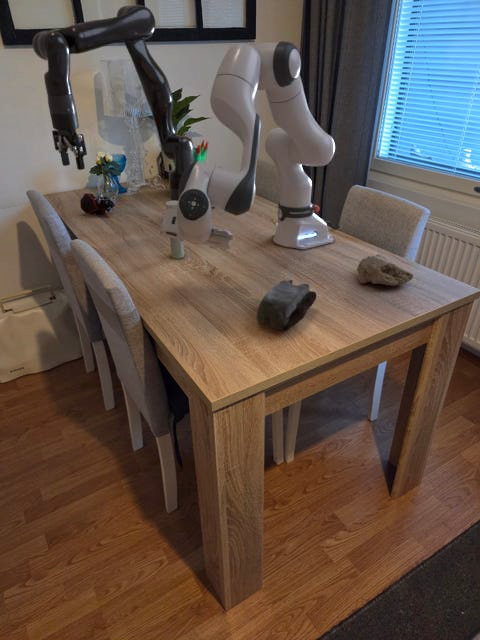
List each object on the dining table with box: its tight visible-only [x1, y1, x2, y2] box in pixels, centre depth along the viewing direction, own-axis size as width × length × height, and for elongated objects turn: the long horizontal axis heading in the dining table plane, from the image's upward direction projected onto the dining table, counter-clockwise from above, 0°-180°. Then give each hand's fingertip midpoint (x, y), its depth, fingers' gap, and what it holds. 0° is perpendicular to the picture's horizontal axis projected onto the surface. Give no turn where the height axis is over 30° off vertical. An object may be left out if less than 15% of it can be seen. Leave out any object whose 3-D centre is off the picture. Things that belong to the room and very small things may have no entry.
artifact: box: [356, 254, 414, 286], centre depth 138 cm, size 18×7×15 cm
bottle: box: [169, 237, 185, 260], centre depth 149 cm, size 4×4×18 cm
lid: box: [165, 200, 178, 210], centre depth 144 cm, size 5×5×2 cm
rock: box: [256, 279, 317, 332], centre depth 117 cm, size 18×11×8 cm, turn 152°
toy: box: [79, 192, 117, 218], centre depth 189 cm, size 12×9×15 cm
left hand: (73, 167), depth 141 cm, fingers open, 8 cm apart
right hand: (197, 242), depth 132 cm, fingers open, 8 cm apart
